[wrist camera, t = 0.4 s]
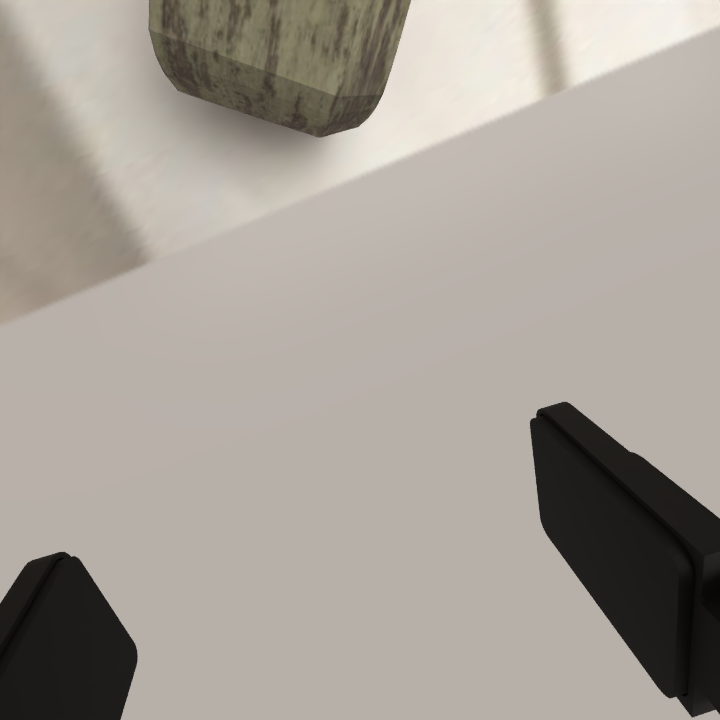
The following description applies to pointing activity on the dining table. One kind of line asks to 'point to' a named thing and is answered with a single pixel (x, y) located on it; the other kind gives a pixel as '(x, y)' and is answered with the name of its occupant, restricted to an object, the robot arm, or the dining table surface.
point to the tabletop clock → (281, 56)
